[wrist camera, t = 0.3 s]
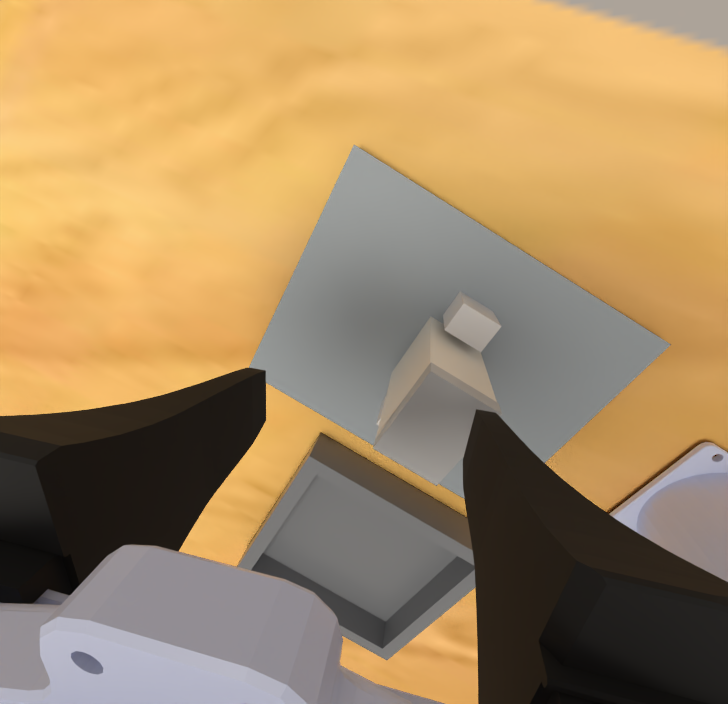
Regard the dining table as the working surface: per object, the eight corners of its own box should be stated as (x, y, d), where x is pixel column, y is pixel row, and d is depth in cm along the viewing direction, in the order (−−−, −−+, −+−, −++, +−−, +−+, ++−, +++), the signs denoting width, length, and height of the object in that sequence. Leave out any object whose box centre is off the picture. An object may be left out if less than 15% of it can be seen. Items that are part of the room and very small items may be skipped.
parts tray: (494, 533, 25) (500, 566, 23) (390, 626, 31) (386, 660, 28) (320, 432, 24) (309, 455, 22) (247, 546, 30) (232, 574, 28)
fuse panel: (659, 337, 18) (706, 365, 15) (487, 502, 24) (496, 547, 21) (358, 147, 18) (341, 135, 14) (254, 364, 23) (226, 390, 20)
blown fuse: (478, 344, 19) (502, 414, 13) (435, 399, 21) (436, 485, 14) (431, 315, 19) (430, 371, 13) (391, 373, 21) (372, 448, 14)
